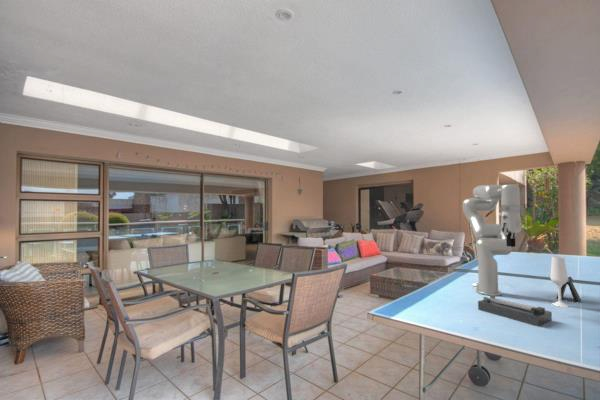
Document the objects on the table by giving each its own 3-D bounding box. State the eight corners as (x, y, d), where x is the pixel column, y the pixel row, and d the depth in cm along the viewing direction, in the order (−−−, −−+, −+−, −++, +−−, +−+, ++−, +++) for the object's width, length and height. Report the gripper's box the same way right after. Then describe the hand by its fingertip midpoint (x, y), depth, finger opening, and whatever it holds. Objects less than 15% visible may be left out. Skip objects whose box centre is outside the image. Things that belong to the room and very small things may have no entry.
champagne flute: (572, 307, 142) (570, 258, 143) (556, 306, 144) (554, 257, 145) (563, 303, 149) (561, 256, 150) (548, 302, 150) (546, 255, 151)
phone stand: (581, 300, 154) (580, 277, 155) (579, 302, 150) (578, 279, 151) (558, 296, 161) (557, 274, 162) (556, 298, 157) (555, 276, 158)
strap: (487, 300, 140) (487, 298, 140) (491, 299, 142) (491, 297, 142) (531, 310, 124) (531, 308, 124) (535, 309, 126) (535, 306, 126)
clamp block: (478, 309, 139) (477, 297, 140) (492, 305, 145) (491, 294, 145) (538, 326, 118) (537, 312, 119) (551, 321, 124) (551, 307, 125)
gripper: (510, 209, 137) (511, 248, 137) (526, 209, 144) (527, 246, 144) (493, 209, 144) (494, 246, 144) (510, 208, 151) (510, 244, 151)
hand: (510, 246), depth 144 cm, fingers closed
